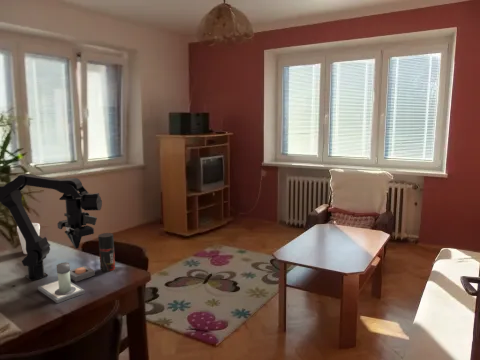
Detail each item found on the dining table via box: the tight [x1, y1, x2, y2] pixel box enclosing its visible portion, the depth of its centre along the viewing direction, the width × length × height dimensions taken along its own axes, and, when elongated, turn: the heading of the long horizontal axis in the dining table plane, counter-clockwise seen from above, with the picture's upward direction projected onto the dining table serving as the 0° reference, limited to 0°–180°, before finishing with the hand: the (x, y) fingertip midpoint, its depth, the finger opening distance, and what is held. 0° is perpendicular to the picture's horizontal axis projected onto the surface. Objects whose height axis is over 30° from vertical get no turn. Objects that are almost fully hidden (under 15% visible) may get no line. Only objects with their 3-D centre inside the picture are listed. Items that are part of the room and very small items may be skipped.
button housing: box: [70, 265, 96, 282], centre depth 153 cm, size 8×8×2 cm
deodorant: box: [97, 232, 116, 273], centre depth 159 cm, size 6×6×15 cm
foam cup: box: [16, 222, 41, 255], centre depth 179 cm, size 10×9×13 cm
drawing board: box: [37, 279, 86, 304], centre depth 139 cm, size 16×10×1 cm, turn 50°
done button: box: [74, 267, 86, 275], centre depth 153 cm, size 4×4×2 cm
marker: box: [56, 261, 72, 293], centre depth 136 cm, size 4×4×10 cm
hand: (76, 248), depth 151 cm, fingers closed
